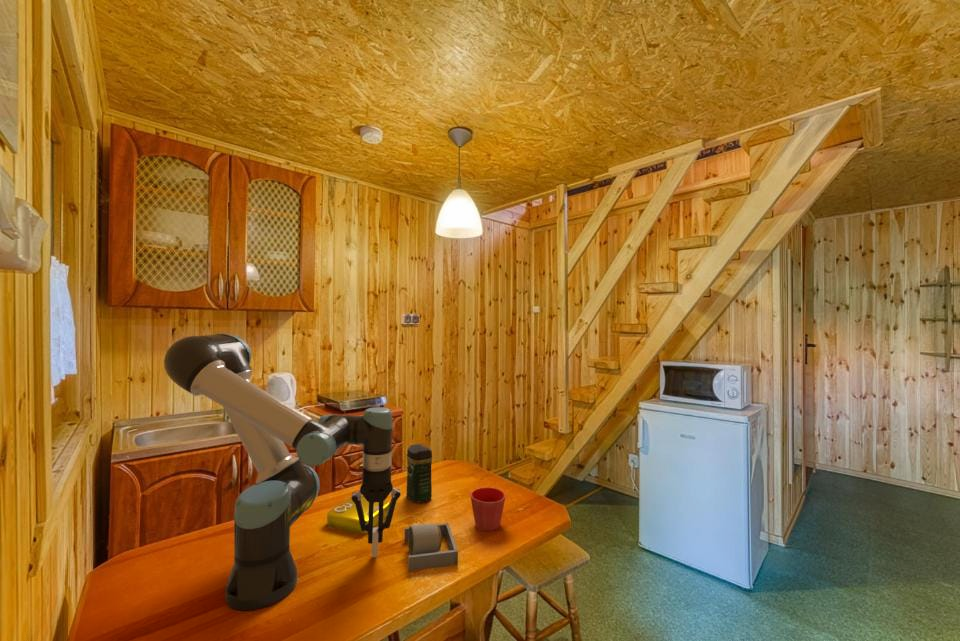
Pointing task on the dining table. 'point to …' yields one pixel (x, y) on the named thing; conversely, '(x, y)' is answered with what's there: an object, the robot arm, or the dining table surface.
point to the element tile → (353, 515)
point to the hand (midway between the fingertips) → (374, 554)
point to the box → (438, 557)
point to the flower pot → (487, 507)
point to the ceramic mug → (424, 539)
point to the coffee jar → (419, 473)
